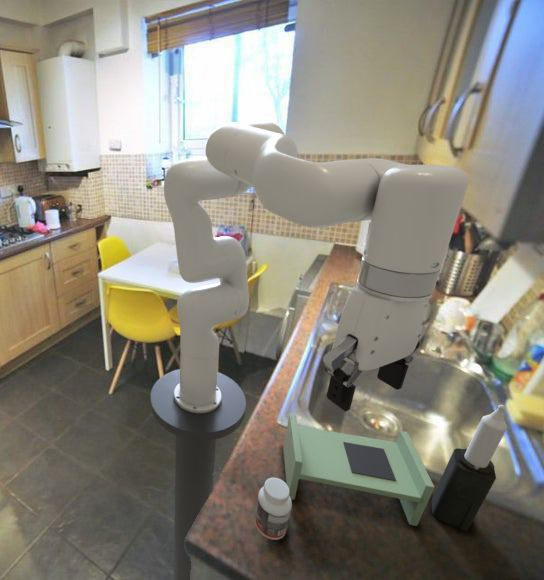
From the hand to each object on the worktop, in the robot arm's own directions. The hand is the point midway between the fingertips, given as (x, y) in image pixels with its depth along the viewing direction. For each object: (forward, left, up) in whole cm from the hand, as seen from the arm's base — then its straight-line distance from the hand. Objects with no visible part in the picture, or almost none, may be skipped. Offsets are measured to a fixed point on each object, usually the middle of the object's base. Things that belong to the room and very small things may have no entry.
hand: (363, 393), depth 50 cm
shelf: (-12, +5, -31) cm, 33 cm away
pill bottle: (0, -9, -31) cm, 32 cm away
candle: (-10, +22, -31) cm, 39 cm away
